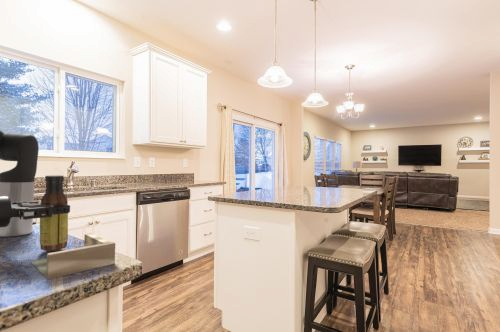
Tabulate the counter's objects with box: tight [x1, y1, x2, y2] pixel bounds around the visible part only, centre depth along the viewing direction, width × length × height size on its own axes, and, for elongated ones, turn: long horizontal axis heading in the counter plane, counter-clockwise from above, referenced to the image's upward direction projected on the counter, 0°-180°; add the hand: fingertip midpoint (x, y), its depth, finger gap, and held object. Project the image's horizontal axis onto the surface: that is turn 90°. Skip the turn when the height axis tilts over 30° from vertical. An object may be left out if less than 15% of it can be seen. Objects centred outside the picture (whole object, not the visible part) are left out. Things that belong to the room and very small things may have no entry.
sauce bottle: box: [39, 174, 69, 252], centre depth 75 cm, size 7×6×20 cm
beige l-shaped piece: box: [30, 232, 116, 280], centre depth 67 cm, size 14×14×5 cm
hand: (65, 207), depth 77 cm, fingers closed on sauce bottle, 6 cm apart
